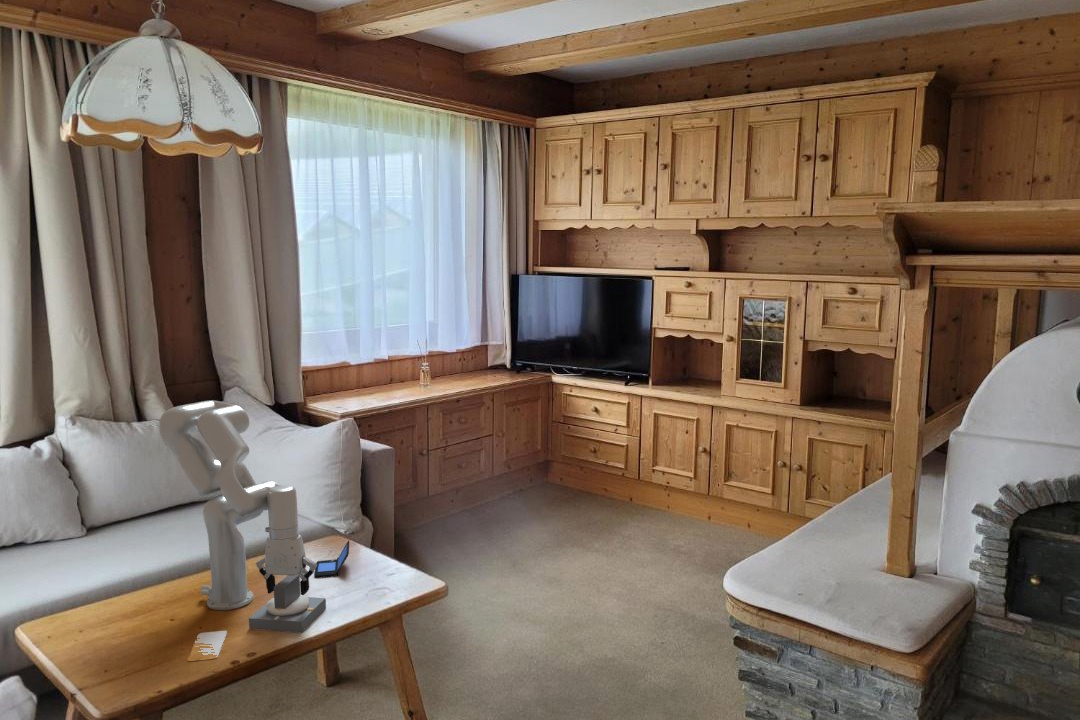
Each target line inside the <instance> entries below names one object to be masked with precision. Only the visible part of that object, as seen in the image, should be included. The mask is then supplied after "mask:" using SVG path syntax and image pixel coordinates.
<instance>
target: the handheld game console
mask: <svg viewBox="0 0 1080 720" xmlns="http://www.w3.org/2000/svg"><path fill="white" fill-rule="evenodd" d="M340 552H341V553H339V556H338V557H337V558H336V559H335V558H334V559H327V560H326V559H325V560H318V561H316V562H315V563H317V566H316V569H315V571H314V573H313V576H314V578H316V579H319V578H321V577H322V578H331V576H333V577H339V576H340V571H341V568H343V565H344V564H345V562H346V560H347V559H348V556H349V553H350V540H348V541H347V542H346V543H345V545H344V547H343V549H342V550H341V551H340ZM322 578H321V579H322Z"/></svg>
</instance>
